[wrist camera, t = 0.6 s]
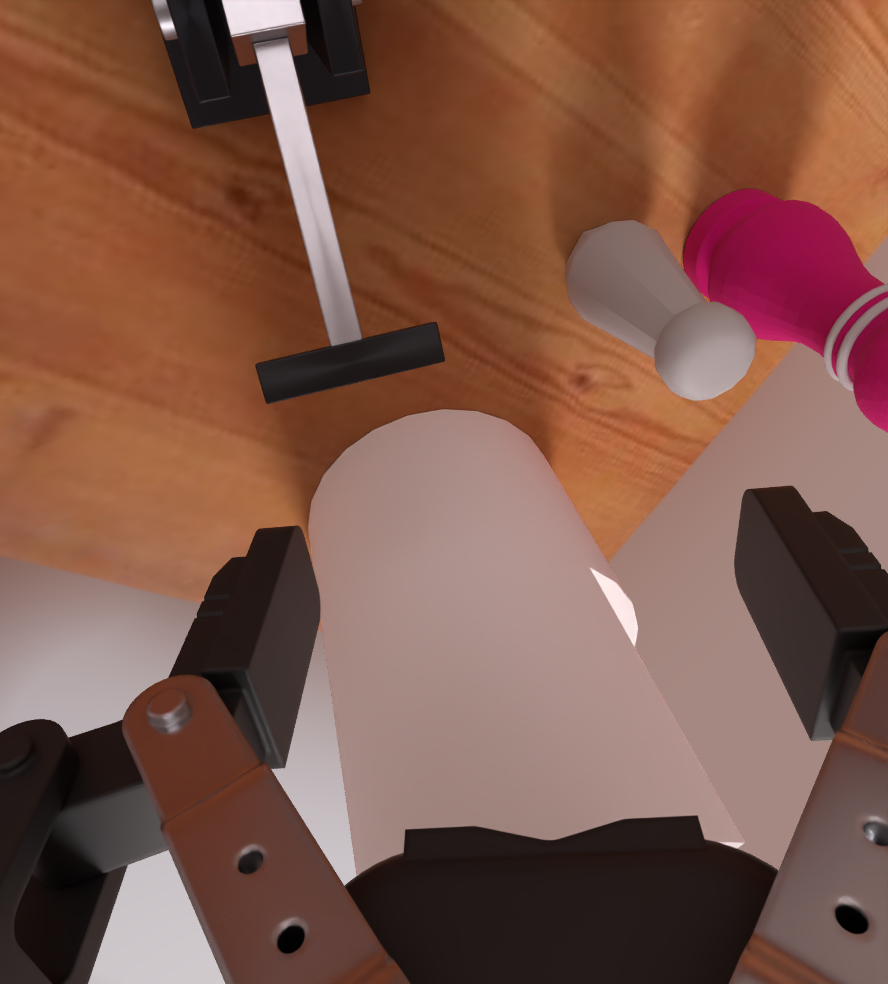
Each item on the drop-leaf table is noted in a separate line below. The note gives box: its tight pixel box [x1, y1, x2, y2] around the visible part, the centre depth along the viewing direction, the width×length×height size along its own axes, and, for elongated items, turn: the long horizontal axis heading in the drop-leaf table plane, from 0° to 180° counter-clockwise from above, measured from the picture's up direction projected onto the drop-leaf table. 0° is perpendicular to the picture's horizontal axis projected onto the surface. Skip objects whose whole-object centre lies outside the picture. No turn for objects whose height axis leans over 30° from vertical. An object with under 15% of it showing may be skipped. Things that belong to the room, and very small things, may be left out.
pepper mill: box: [683, 189, 888, 432], centre depth 35 cm, size 7×7×20 cm
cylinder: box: [308, 409, 745, 876], centre depth 40 cm, size 17×17×28 cm
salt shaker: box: [566, 220, 756, 401], centre depth 37 cm, size 6×6×13 cm
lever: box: [220, 0, 445, 404], centre depth 23 cm, size 13×6×2 cm, turn 9°
